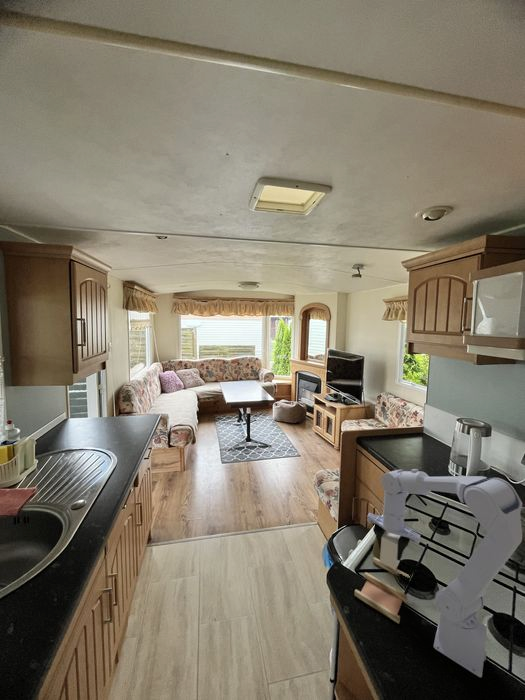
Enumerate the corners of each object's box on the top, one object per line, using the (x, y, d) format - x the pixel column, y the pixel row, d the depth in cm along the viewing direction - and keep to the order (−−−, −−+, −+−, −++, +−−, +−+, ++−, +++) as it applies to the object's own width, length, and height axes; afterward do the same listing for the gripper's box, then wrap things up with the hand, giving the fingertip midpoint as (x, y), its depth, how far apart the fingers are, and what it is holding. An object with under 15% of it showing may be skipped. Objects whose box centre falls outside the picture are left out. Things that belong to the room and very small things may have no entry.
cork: (386, 547, 103) (388, 518, 102) (394, 561, 97) (397, 530, 96) (369, 547, 103) (371, 518, 102) (376, 561, 97) (379, 530, 96)
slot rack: (413, 582, 89) (414, 577, 89) (398, 623, 77) (399, 618, 77) (374, 561, 97) (374, 557, 97) (354, 595, 84) (354, 590, 84)
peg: (399, 561, 89) (401, 536, 88) (395, 570, 85) (397, 544, 85) (384, 553, 92) (386, 529, 91) (379, 561, 88) (381, 536, 88)
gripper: (424, 515, 85) (420, 558, 87) (373, 495, 95) (371, 534, 96) (418, 527, 80) (414, 573, 81) (365, 505, 89) (362, 547, 91)
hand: (390, 553), depth 88 cm, fingers closed on peg, 4 cm apart
